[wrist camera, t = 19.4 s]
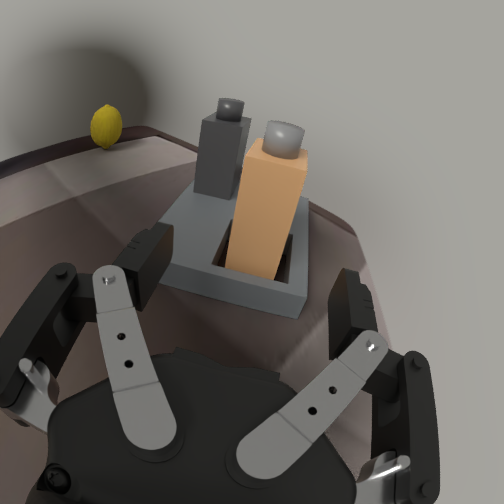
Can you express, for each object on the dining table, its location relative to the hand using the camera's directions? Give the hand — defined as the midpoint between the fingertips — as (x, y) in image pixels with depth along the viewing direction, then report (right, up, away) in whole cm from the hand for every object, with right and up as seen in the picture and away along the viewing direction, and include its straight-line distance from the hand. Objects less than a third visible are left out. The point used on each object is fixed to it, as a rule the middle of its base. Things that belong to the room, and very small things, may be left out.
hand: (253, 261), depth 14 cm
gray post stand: (-2, +2, +16) cm, 16 cm away
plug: (0, -1, +13) cm, 13 cm away
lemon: (-25, +18, +30) cm, 43 cm away
